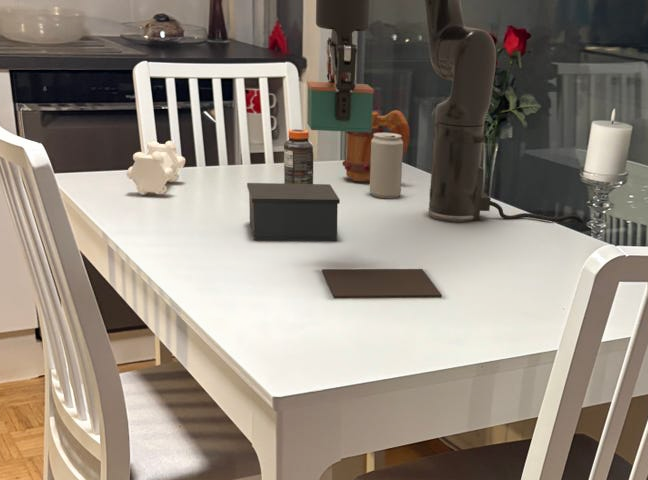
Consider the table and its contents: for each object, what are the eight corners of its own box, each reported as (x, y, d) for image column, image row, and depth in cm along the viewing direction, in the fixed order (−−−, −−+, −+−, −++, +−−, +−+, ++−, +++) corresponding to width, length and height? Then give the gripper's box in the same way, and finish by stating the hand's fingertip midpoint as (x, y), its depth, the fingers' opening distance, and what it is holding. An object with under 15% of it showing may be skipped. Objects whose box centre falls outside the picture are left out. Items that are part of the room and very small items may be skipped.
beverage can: (382, 200, 195) (384, 138, 190) (363, 193, 200) (365, 132, 194) (406, 197, 199) (410, 136, 193) (387, 190, 203) (390, 130, 198)
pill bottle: (315, 185, 203) (316, 129, 198) (310, 191, 198) (310, 133, 192) (287, 183, 203) (287, 126, 198) (281, 189, 198) (280, 131, 193)
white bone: (172, 198, 185) (169, 154, 181) (126, 195, 185) (122, 151, 181) (187, 181, 198) (185, 140, 194) (144, 179, 198) (141, 137, 194)
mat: (422, 271, 154) (422, 268, 154) (441, 297, 143) (441, 294, 143) (321, 271, 150) (321, 269, 150) (333, 298, 139) (333, 295, 139)
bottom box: (329, 223, 176) (330, 184, 173) (338, 240, 167) (339, 199, 163) (248, 222, 173) (247, 182, 170) (252, 240, 163) (251, 198, 160)
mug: (335, 180, 209) (336, 106, 202) (349, 174, 216) (351, 102, 208) (399, 189, 205) (402, 114, 198) (411, 182, 212) (415, 110, 205)
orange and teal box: (366, 125, 150) (367, 84, 147) (372, 132, 145) (374, 89, 142) (306, 123, 148) (307, 81, 145) (310, 130, 143) (311, 86, 140)
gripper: (376, -4, 133) (371, 125, 141) (361, -8, 145) (357, 111, 153) (322, -8, 131) (319, 123, 139) (311, -12, 143) (309, 108, 151)
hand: (339, 116), depth 146 cm, fingers closed on orange and teal box, 6 cm apart
